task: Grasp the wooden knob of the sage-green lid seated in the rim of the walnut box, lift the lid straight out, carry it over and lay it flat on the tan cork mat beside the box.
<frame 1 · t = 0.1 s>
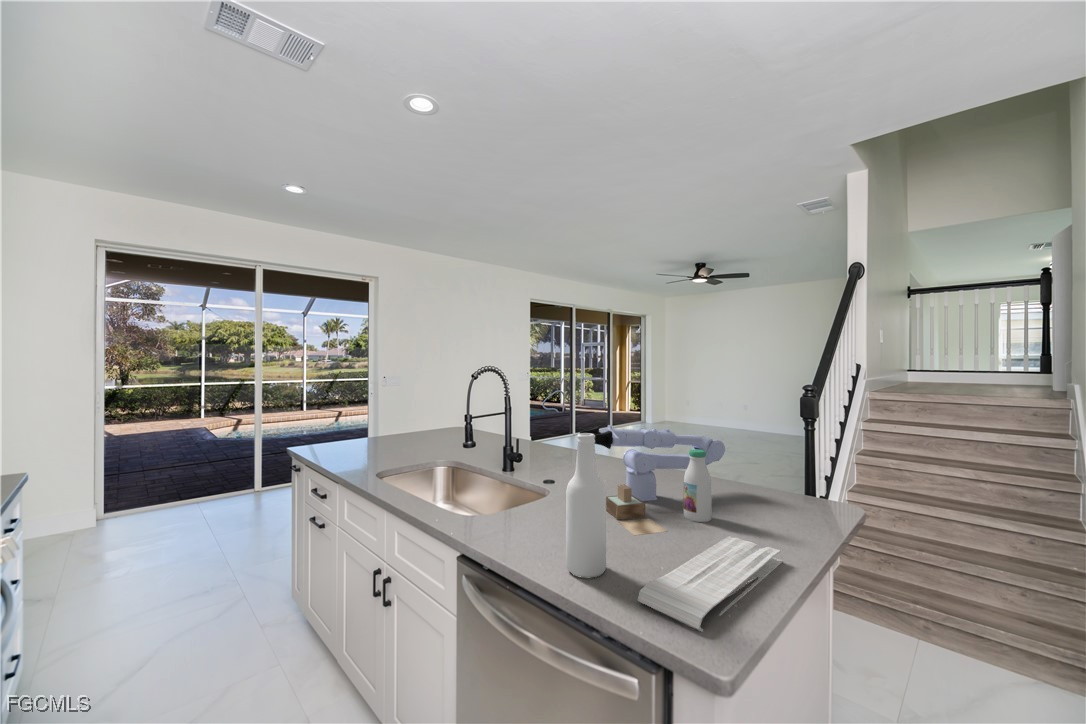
hand: (584, 436, 143), 22 cm above the worktop, tool horizontal, fingers open, 7 cm apart
box: (624, 514, 133), on the worktop
hand towel: (717, 584, 92), on the worktop
alcohol: (586, 570, 98), on the worktop
lid: (624, 502, 133), point 3 cm above the worktop, touching box
mat: (642, 527, 122), on the worktop
ball a: (627, 510, 135), resting on box
milk bottle: (697, 519, 129), on the worktop
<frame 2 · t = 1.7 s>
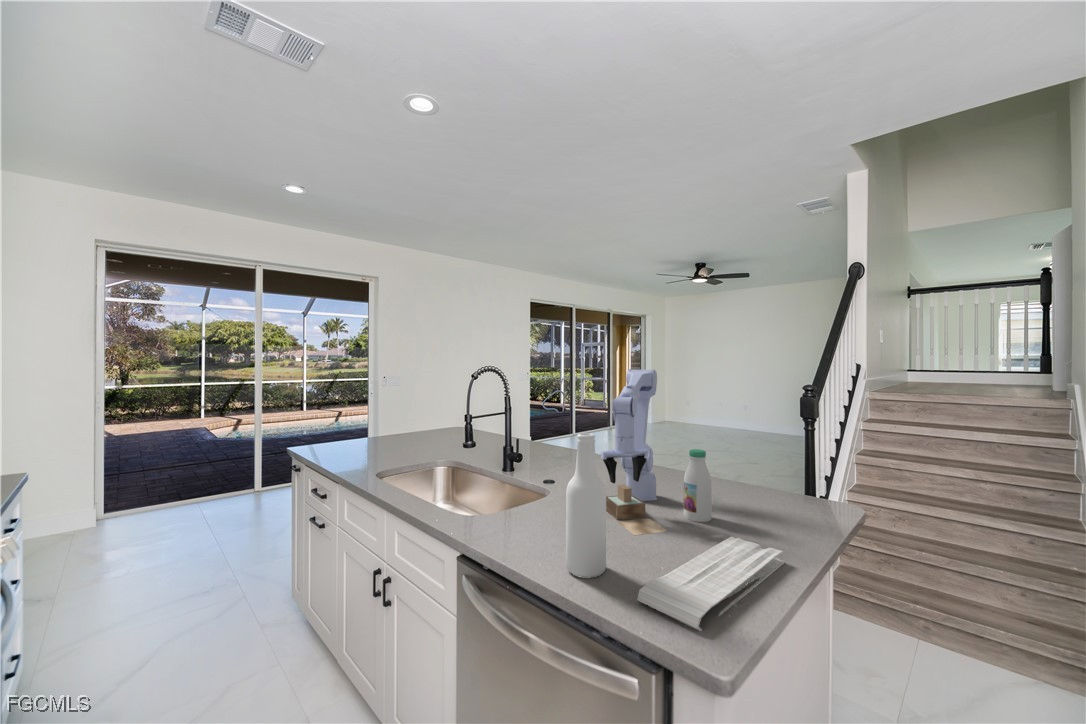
hand: (624, 481, 133), 10 cm above the worktop, tool pointing down, fingers open, 7 cm apart
nothing on the worktop moved.
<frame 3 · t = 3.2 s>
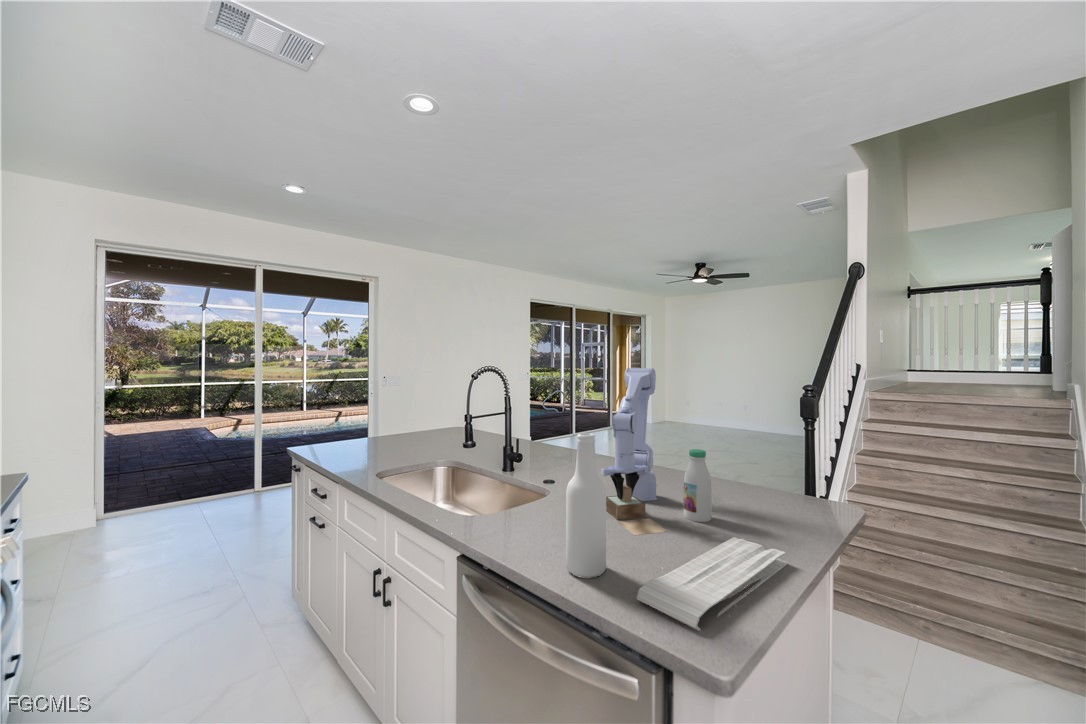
hand: (624, 497, 133), 5 cm above the worktop, tool pointing down, fingers closed on lid, 2 cm apart
lid: (624, 502, 133), point 3 cm above the worktop, touching box, gripper
everything else where it was.
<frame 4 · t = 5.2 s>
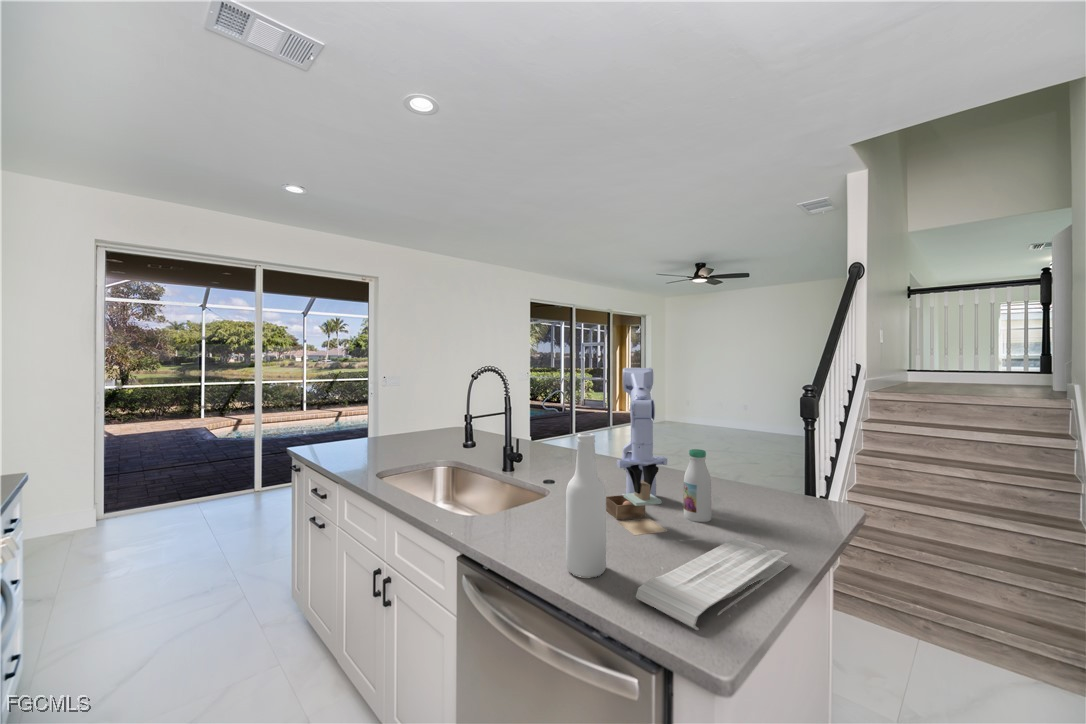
hand: (642, 492, 122), 10 cm above the worktop, tool pointing down, fingers closed on lid, 2 cm apart
lid: (642, 500, 123), point 8 cm above the worktop, touching gripper
everything else where it was.
when the fingers open (3 cm above the worktop, at t = 7.0 s): lid stays where it is, resting on mat.
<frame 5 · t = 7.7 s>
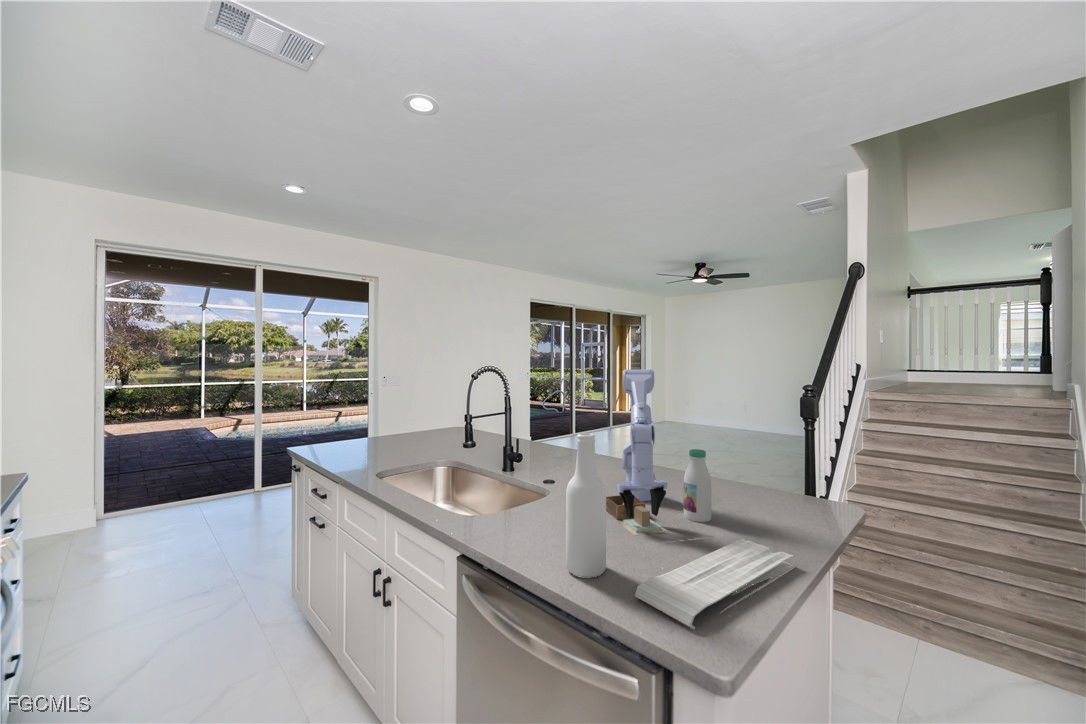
hand: (642, 515, 122), 3 cm above the worktop, tool pointing down, fingers open, 7 cm apart
lid: (642, 526, 123), resting on mat
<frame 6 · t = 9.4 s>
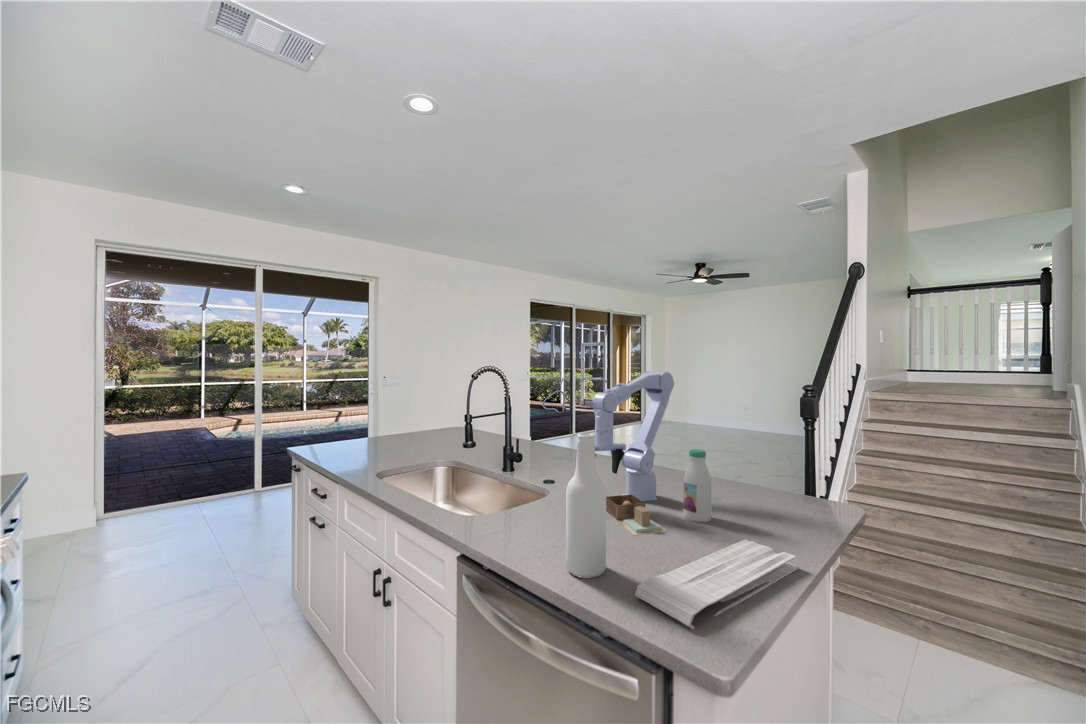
hand: (603, 473, 140), 10 cm above the worktop, tool pointing down, fingers open, 7 cm apart
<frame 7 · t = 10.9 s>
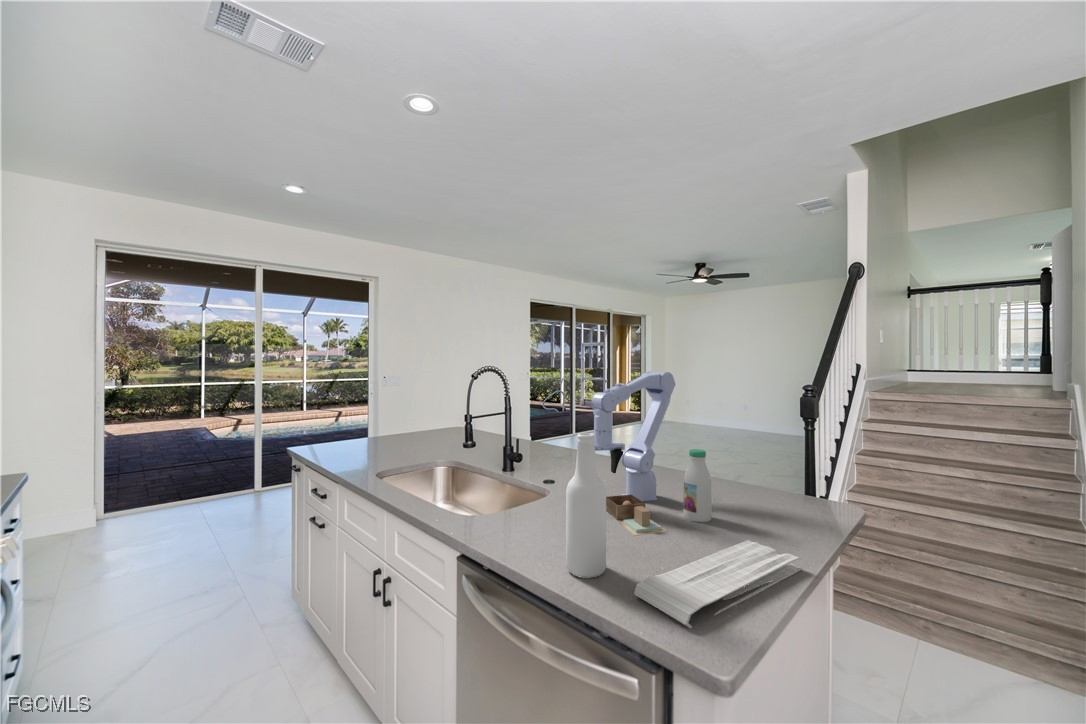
hand: (602, 473, 141), 10 cm above the worktop, tool pointing down, fingers open, 7 cm apart
at the end: lid inside the target area on the mat (0.1 cm from its centre), point 0.3 cm above the mat's base; lid tilted 0°; lid touching mat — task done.
